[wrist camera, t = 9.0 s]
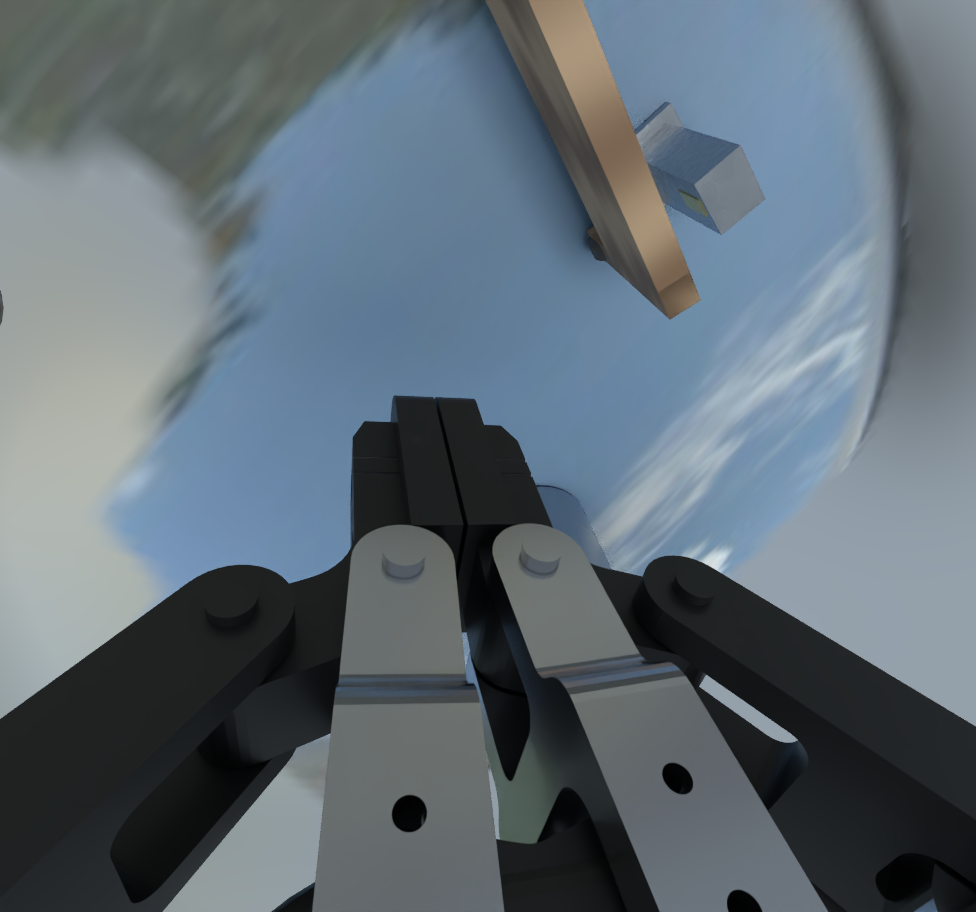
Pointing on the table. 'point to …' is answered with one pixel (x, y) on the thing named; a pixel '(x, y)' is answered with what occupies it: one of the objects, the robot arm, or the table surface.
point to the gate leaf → (597, 145)
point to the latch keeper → (698, 171)
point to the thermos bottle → (1, 308)
